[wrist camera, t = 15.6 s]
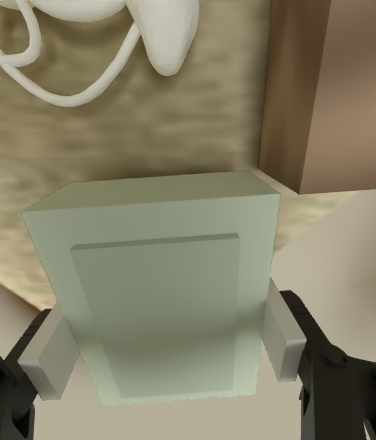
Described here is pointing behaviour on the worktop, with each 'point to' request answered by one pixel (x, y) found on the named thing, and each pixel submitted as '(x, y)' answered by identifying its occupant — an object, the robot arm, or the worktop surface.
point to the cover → (162, 280)
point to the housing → (321, 96)
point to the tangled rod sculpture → (142, 26)
